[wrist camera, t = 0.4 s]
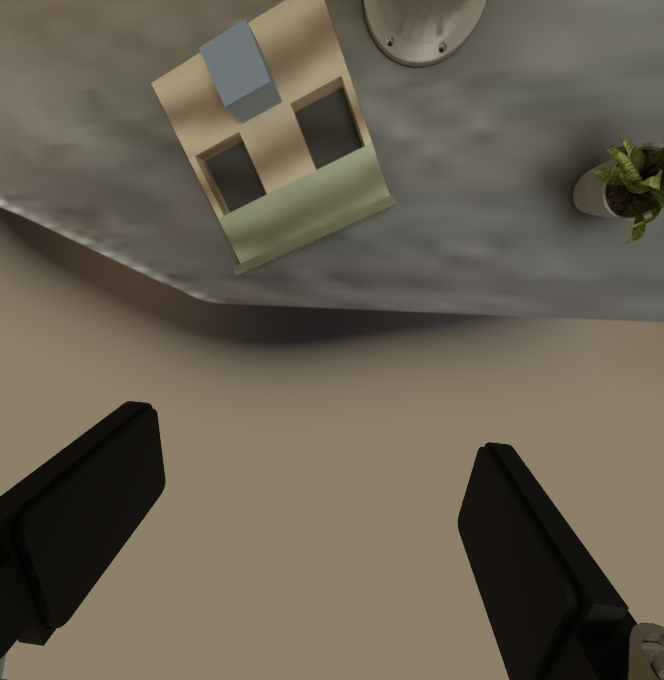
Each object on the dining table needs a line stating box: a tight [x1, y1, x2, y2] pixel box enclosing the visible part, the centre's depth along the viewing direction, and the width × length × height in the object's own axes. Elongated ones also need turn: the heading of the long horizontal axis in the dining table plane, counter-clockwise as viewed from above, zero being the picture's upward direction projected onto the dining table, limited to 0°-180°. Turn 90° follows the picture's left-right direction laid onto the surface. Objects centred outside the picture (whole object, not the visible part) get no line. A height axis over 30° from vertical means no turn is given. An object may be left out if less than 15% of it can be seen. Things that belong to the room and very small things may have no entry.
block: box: [199, 19, 282, 124], centre depth 31 cm, size 5×5×5 cm
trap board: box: [151, 0, 396, 275], centre depth 35 cm, size 22×20×6 cm
